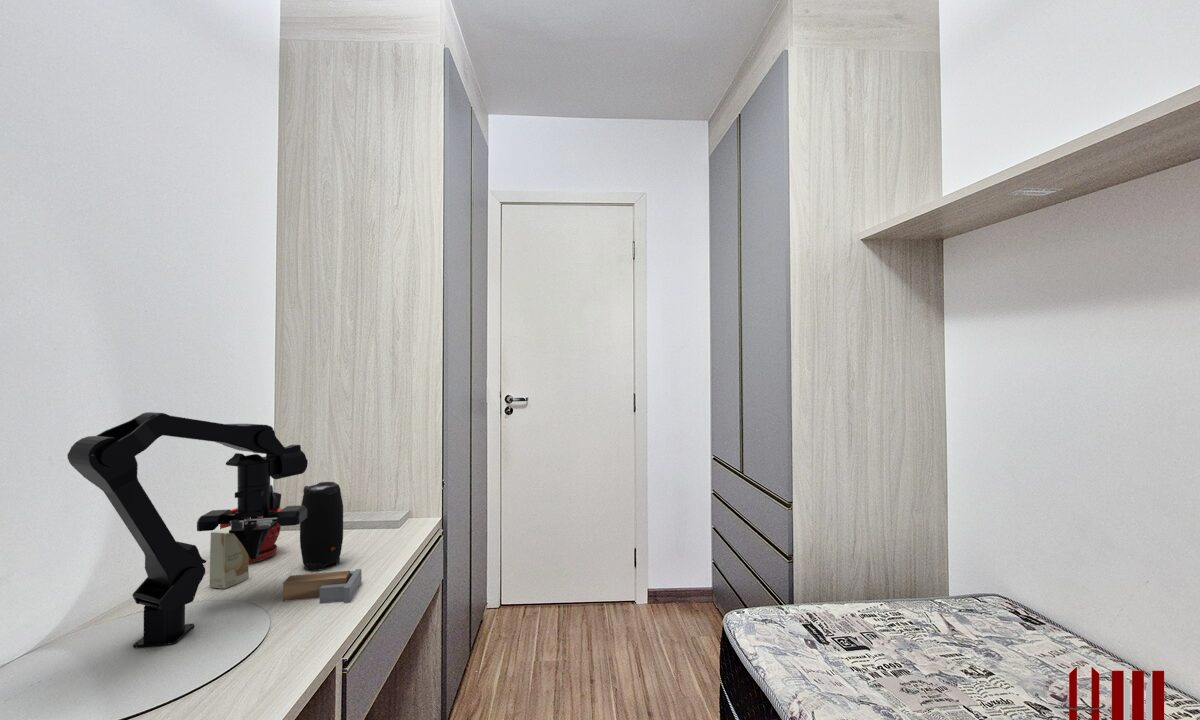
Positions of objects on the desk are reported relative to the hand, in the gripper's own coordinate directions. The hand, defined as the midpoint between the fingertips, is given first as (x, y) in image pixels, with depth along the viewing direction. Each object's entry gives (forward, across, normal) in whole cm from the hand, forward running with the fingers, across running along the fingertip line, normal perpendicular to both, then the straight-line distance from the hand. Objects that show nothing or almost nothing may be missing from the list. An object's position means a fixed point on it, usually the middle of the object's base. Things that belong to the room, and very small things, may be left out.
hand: (254, 558), depth 109 cm
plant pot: (+9, +11, -27) cm, 30 cm away
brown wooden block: (+9, -12, 0) cm, 15 cm away
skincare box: (+9, +9, -11) cm, 17 cm away
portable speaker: (+9, -8, -18) cm, 21 cm away
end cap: (+9, -17, 0) cm, 19 cm away
